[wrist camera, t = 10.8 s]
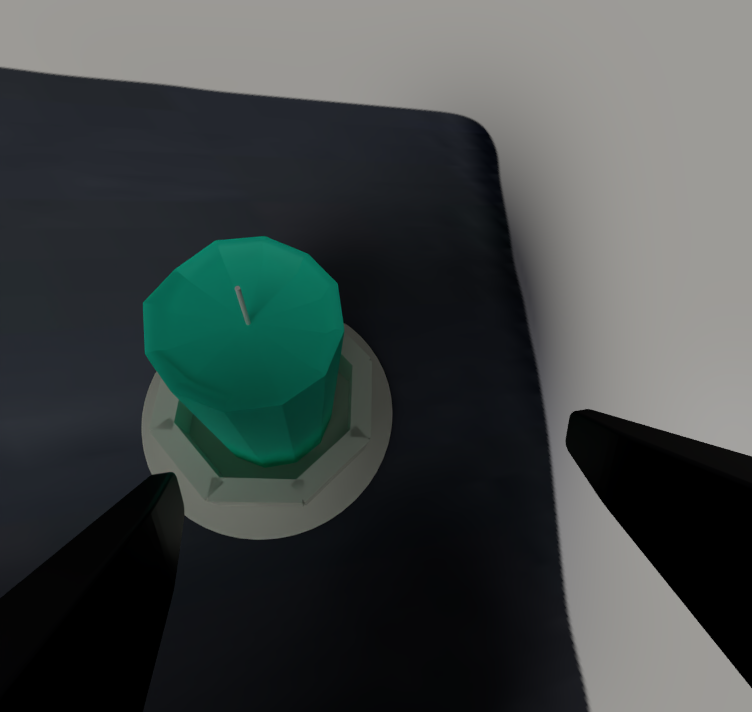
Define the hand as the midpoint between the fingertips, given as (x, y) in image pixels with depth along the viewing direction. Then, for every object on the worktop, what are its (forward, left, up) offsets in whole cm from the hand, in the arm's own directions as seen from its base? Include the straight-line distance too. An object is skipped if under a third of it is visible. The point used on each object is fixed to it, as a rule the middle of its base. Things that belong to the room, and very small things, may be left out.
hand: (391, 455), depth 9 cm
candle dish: (+5, +4, -14) cm, 15 cm away
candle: (+4, +4, -13) cm, 14 cm away
